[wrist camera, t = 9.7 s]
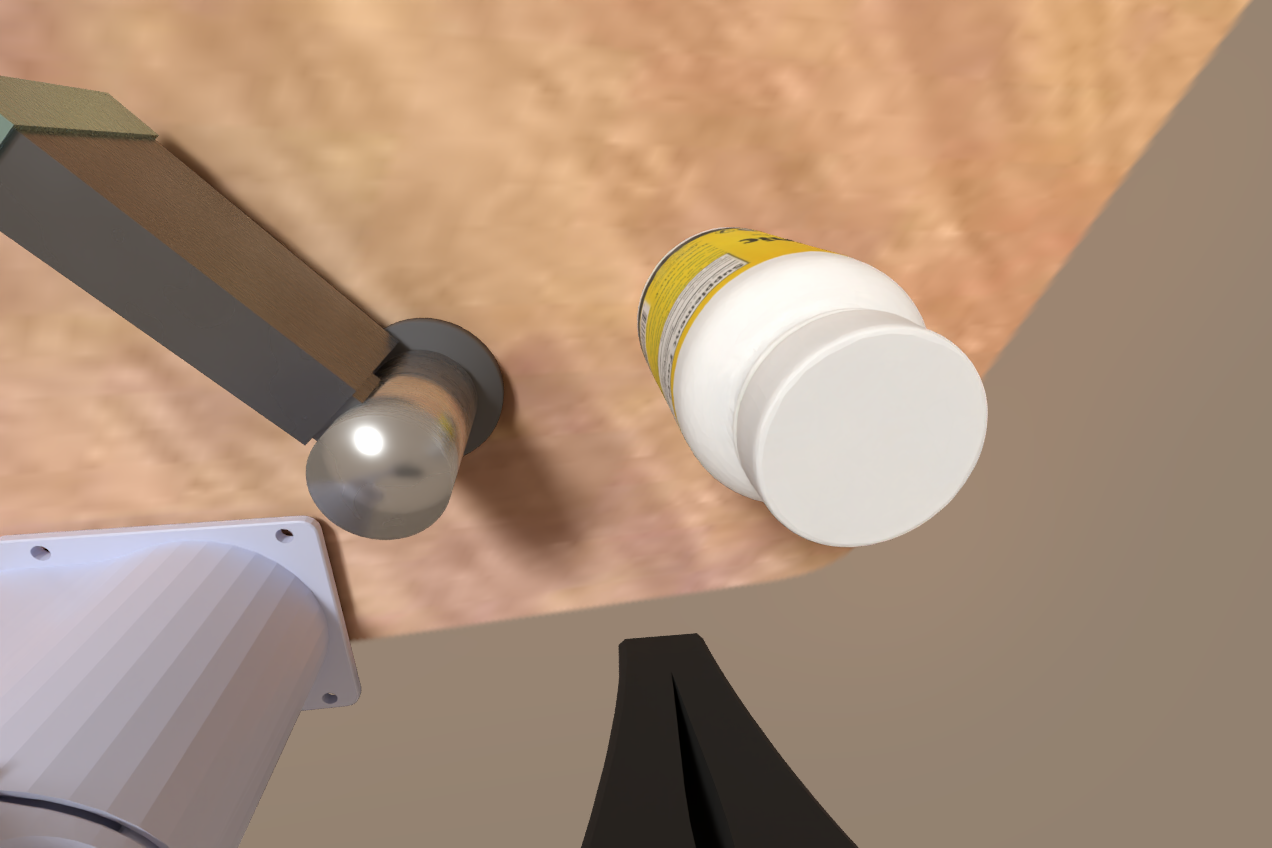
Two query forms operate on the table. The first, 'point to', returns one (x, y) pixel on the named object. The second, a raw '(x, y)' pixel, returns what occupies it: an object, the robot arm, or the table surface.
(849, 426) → the supplement bottle
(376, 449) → the swing bar
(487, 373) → the pivot base
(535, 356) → the table surface
